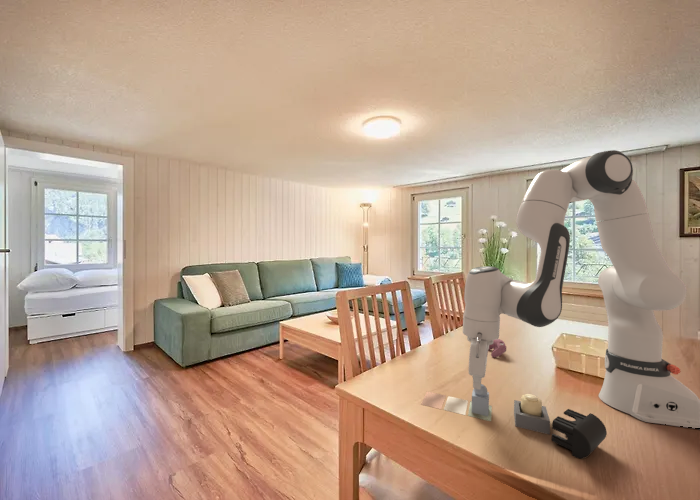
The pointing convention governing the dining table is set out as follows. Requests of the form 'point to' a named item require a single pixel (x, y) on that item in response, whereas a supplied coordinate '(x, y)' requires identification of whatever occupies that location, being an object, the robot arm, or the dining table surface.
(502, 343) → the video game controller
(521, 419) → the box
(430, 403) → the game board
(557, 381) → the dining table surface
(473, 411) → the pawn
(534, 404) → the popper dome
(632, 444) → the dining table surface
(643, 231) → the robot arm
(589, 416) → the end cap
